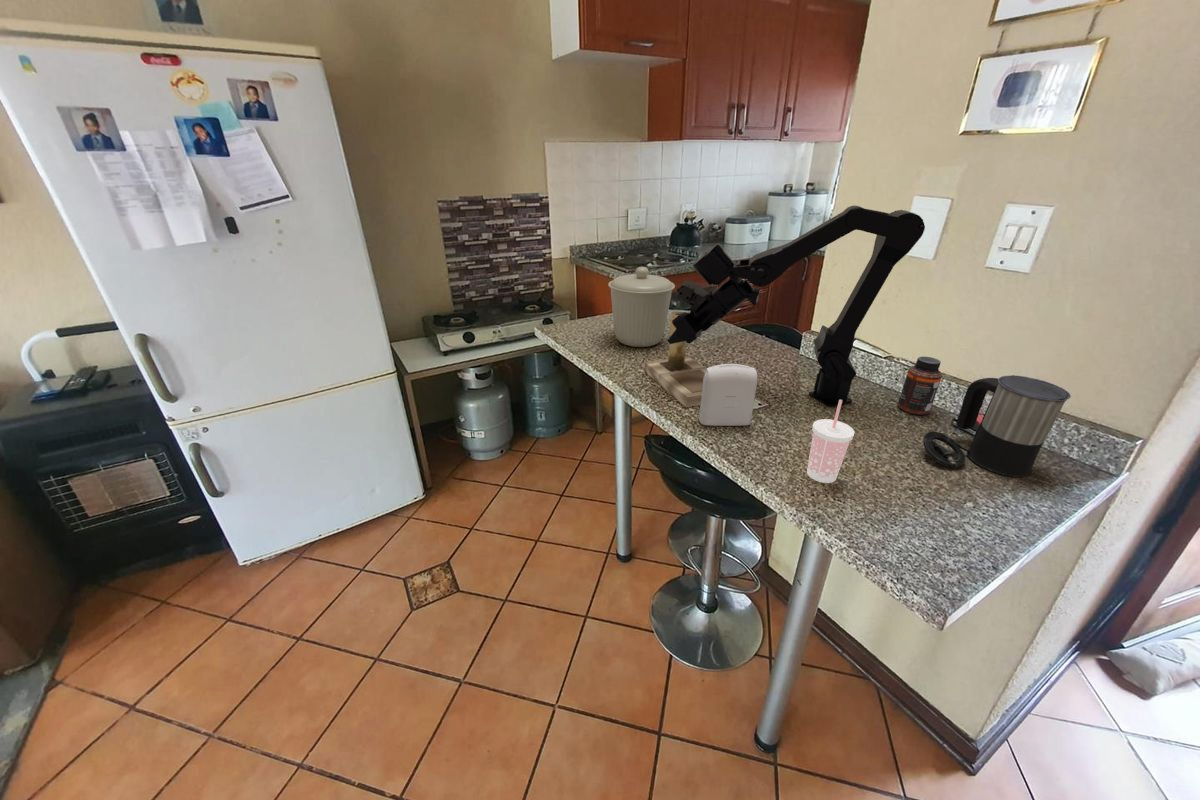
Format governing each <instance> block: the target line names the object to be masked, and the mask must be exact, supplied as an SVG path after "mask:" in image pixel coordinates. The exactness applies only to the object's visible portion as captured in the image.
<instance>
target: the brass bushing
mask: <svg viewBox="0 0 1200 800" xmlns="http://www.w3.org/2000/svg"><path fill="white" fill-rule="evenodd" d="M683 312H684V311H674V312H671V316H670V330H669V338H670V337H671V335H672V334H673V333H674V331H675V330H676V328H675V326H674V325H673V324H672V320H674V319H675V318H676V317H677V316H679V315H680V314H682V313H683ZM668 343H669V342H668ZM687 344H688V343H687V342H686V341H683V342H678V343H673V344H670V343H669V346H668V357H667V359H668V368H670V369H673V370H672V371H681V369H684V365H685V357H686V352H687Z"/></svg>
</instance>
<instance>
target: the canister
mask: <svg viewBox="0 0 1200 800" xmlns="http://www.w3.org/2000/svg"><path fill="white" fill-rule="evenodd" d="M649 271H650V270H649V269H648V268H647V267H646V266H638V267H637V268H636V269H635V274H634V273H633V274H625V275H620V276H617V277H615V278H614V279H612V280H611V281H609V282H608V284H607V285H608V287H609V289H610V298H611V307H612V308H611V309H612V320H613V327H614V328H613V329H614V334H615V337H616V339H617V340H618V342H620V343H621V344H622V345H625V346H628V347H634V348H647V347H652V346H656V345H657V344H659V343H660V342H661V341H662V339H663V336H664V334H665V330H666V325H667V320H668V315H669V310H670V309H669V308H670V304H671V299H672V293H673V290H674V289H675V287H676V285H675V283H674V282H672V281H670V280H669V279H668V278H666V277H664V276H661V275H654V274H650V273H649Z"/></svg>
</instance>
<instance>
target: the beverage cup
mask: <svg viewBox="0 0 1200 800" xmlns="http://www.w3.org/2000/svg"><path fill="white" fill-rule="evenodd" d="M842 405H843V404H842V400H839V403H838V405H836V406H837V407H836V412H835V415H834V418H833V419H829V418H826V419H825V418H823V419H817V420H815V421H813V424H812V428H811V430H812V438H811V445H810V451H809V456H808V463H807V469H806V473H807V476H808V477H809V478H810V479H813V480H814V481H816V482H819V483H822V484H831V483H834V482H835V481H837V477H838V475H839V472H840V469H841V467H842V464H843V462H844V458H845V457H846V453H847V450H848V448H849V444H850V442H851V441H853V438H854V435H855V430H854V428H853V427H852V426H850V425H849V424H847V423H845V422H842V421H840V420H838V419H839V415H840V412H841V408H842Z"/></svg>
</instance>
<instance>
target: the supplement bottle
mask: <svg viewBox="0 0 1200 800" xmlns="http://www.w3.org/2000/svg"><path fill="white" fill-rule="evenodd" d="M915 363H916V364H914V365H912V366H910V367H909V368H908V370H907V373H906V375H905V379H904V382H903V385H902V388H901V392H900V395H899V399H898V402H897V407H898V408H899V409H901V410H902V411H903V412H905V413H908V414H912V415H918V416H919V415H927V414H929V413H930V412H931V408H932V406H933V403H934V401H935V397H936V395H937V391H938V389H939V386H940V383H941V381H942V380H941V379H942V377H943V374H942V372H941V371H940V370H939V369H940V366H941V363H942V362H941V360H939V358H935V357H931V356H918V357H917V360H916V362H915Z"/></svg>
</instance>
